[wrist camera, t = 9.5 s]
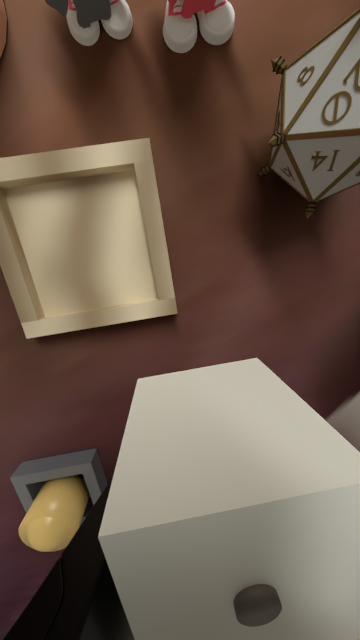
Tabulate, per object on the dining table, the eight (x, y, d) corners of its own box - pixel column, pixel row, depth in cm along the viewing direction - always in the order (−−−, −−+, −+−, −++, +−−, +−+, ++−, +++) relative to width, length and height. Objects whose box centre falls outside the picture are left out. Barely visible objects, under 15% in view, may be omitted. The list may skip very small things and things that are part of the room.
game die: (274, 204, 18) (319, 267, 12) (219, 113, 14) (245, 138, 8) (398, 105, 14) (582, 125, 7) (375, -84, 9) (792, -449, 3)
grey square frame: (96, 448, 19) (90, 462, 17) (113, 502, 21) (109, 520, 19) (22, 462, 19) (9, 478, 17) (45, 515, 20) (36, 534, 19)
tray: (150, 152, 14) (149, 137, 12) (176, 309, 16) (177, 313, 15) (-15, 175, 13) (-37, 163, 12) (39, 332, 16) (26, 338, 15)
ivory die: (257, 357, 8) (397, 486, 3) (263, 453, 9) (373, 655, 4) (134, 379, 8) (85, 551, 3) (156, 474, 9) (146, 708, 4)
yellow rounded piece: (83, 469, 18) (61, 520, 15) (95, 504, 19) (78, 560, 16) (35, 478, 18) (0, 532, 14) (50, 513, 19) (21, 572, 16)
